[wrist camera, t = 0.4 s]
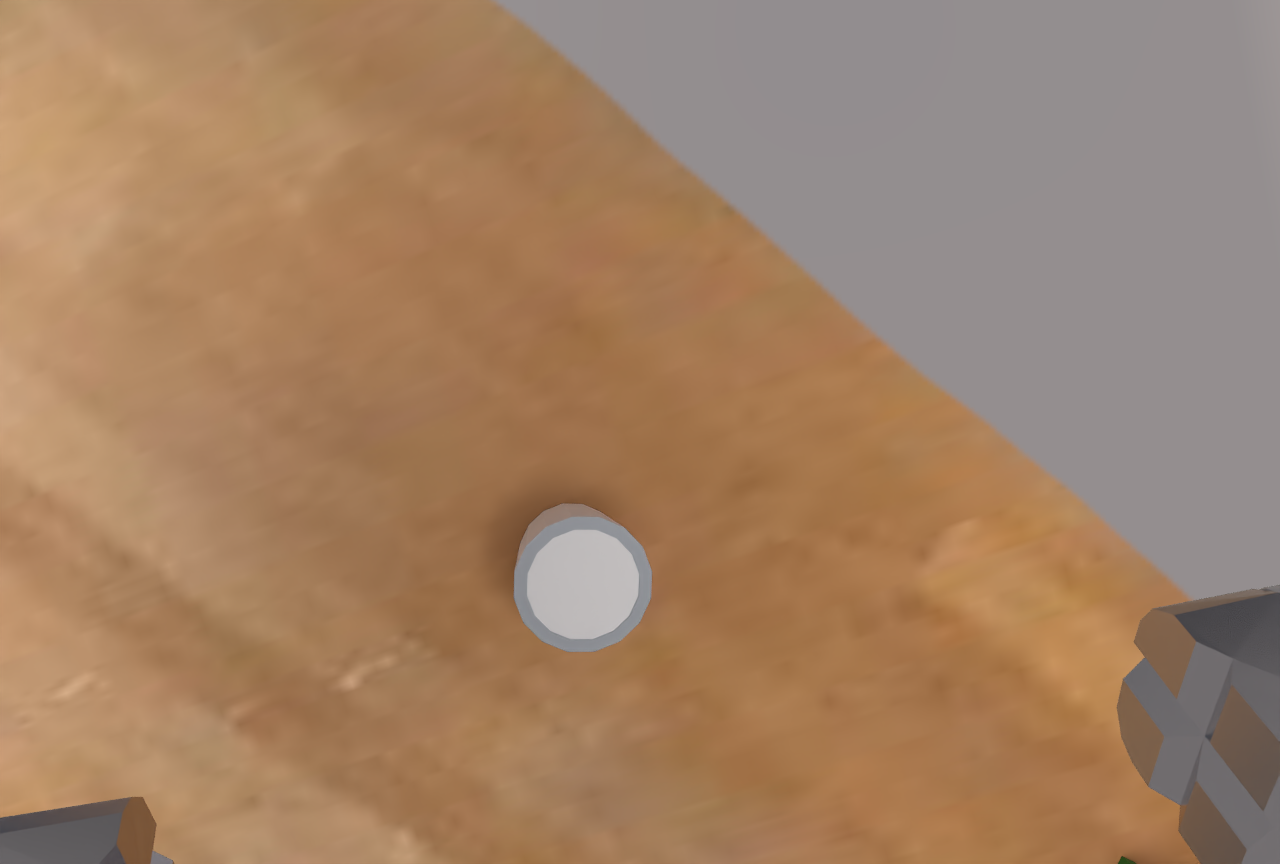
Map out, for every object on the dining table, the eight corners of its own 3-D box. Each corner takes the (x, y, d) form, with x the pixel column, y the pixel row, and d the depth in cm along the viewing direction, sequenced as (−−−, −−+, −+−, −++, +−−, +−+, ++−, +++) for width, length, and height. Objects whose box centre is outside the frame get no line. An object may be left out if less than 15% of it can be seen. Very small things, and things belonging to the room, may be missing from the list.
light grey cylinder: (641, 601, 65) (663, 638, 58) (519, 625, 64) (525, 666, 57) (622, 481, 64) (641, 504, 57) (497, 503, 63) (501, 530, 56)
